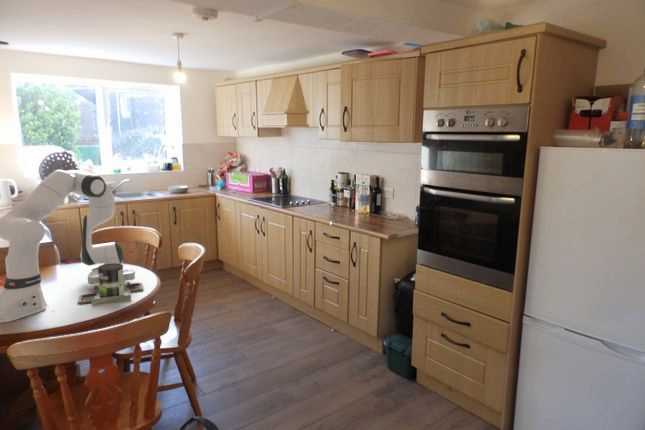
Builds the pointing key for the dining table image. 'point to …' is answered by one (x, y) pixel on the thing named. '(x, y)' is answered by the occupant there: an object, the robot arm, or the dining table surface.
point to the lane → (90, 297)
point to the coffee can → (111, 280)
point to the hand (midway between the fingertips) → (111, 281)
